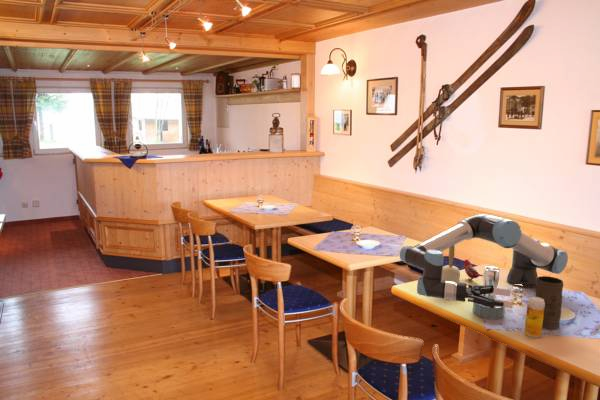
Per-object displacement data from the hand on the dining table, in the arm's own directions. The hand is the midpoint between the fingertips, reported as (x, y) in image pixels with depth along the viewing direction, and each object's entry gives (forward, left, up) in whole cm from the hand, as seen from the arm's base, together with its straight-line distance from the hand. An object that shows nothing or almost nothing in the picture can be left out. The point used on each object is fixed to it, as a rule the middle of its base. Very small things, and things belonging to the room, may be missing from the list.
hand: (511, 298), depth 196 cm
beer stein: (-20, -1, -14) cm, 25 cm away
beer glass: (-19, -29, -14) cm, 38 cm away
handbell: (-8, -44, -14) cm, 47 cm away
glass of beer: (-6, +6, -14) cm, 17 cm away
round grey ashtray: (-6, -17, -14) cm, 23 cm away
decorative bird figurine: (-30, -50, -14) cm, 60 cm away
